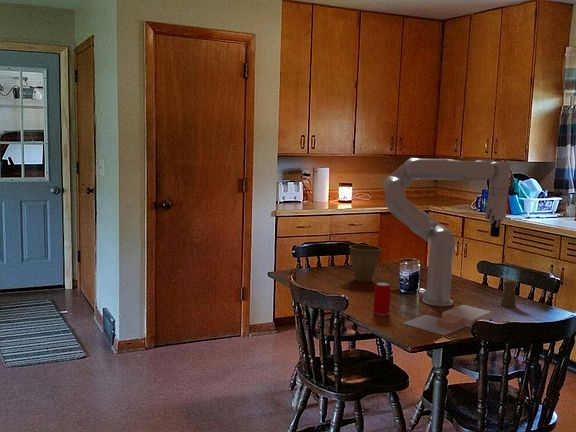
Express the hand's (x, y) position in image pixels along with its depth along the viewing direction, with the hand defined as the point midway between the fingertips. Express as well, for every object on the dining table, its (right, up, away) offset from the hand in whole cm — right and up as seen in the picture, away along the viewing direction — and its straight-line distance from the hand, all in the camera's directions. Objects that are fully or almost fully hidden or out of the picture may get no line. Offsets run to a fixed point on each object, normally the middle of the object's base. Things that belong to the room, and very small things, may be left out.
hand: (494, 236), depth 251 cm
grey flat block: (-16, -31, -17) cm, 39 cm away
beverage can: (-49, -30, -14) cm, 59 cm away
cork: (+7, -29, +4) cm, 30 cm away
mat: (-31, -32, -25) cm, 51 cm away
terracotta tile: (-25, -32, -26) cm, 48 cm away
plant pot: (-49, -22, +39) cm, 66 cm away
